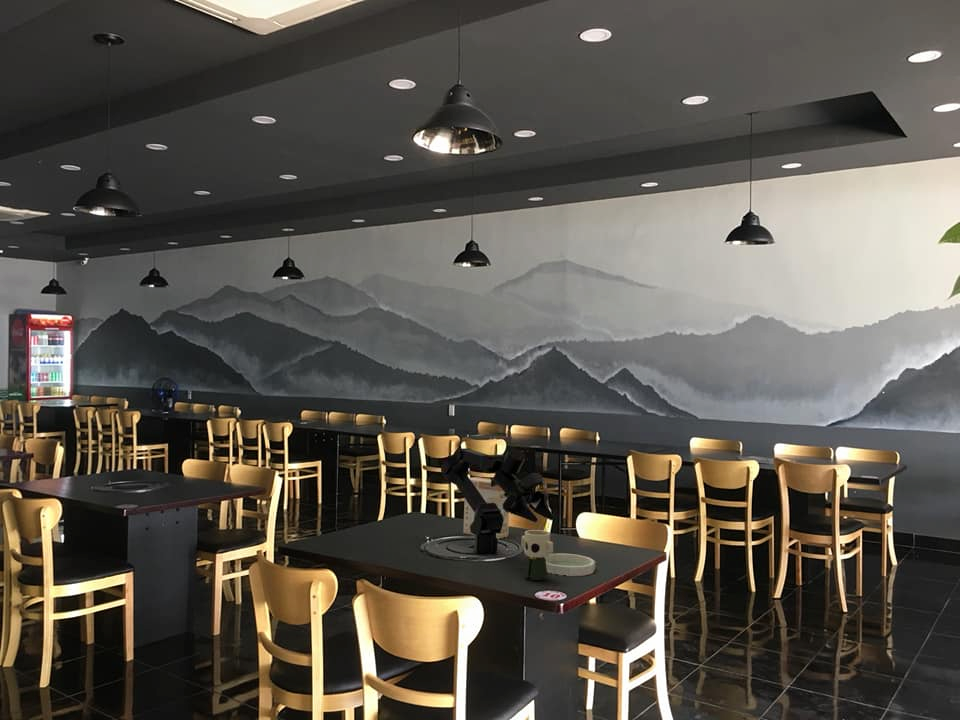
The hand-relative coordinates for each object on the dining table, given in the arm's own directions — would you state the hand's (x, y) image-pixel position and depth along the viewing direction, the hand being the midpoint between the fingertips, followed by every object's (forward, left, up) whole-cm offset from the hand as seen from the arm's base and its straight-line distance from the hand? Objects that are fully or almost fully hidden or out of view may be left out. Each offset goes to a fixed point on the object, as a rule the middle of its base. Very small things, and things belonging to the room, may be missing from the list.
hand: (545, 520), depth 222 cm
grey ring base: (+7, 0, -14) cm, 16 cm away
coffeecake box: (-7, +47, -15) cm, 50 cm away
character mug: (-5, -10, -14) cm, 19 cm away
